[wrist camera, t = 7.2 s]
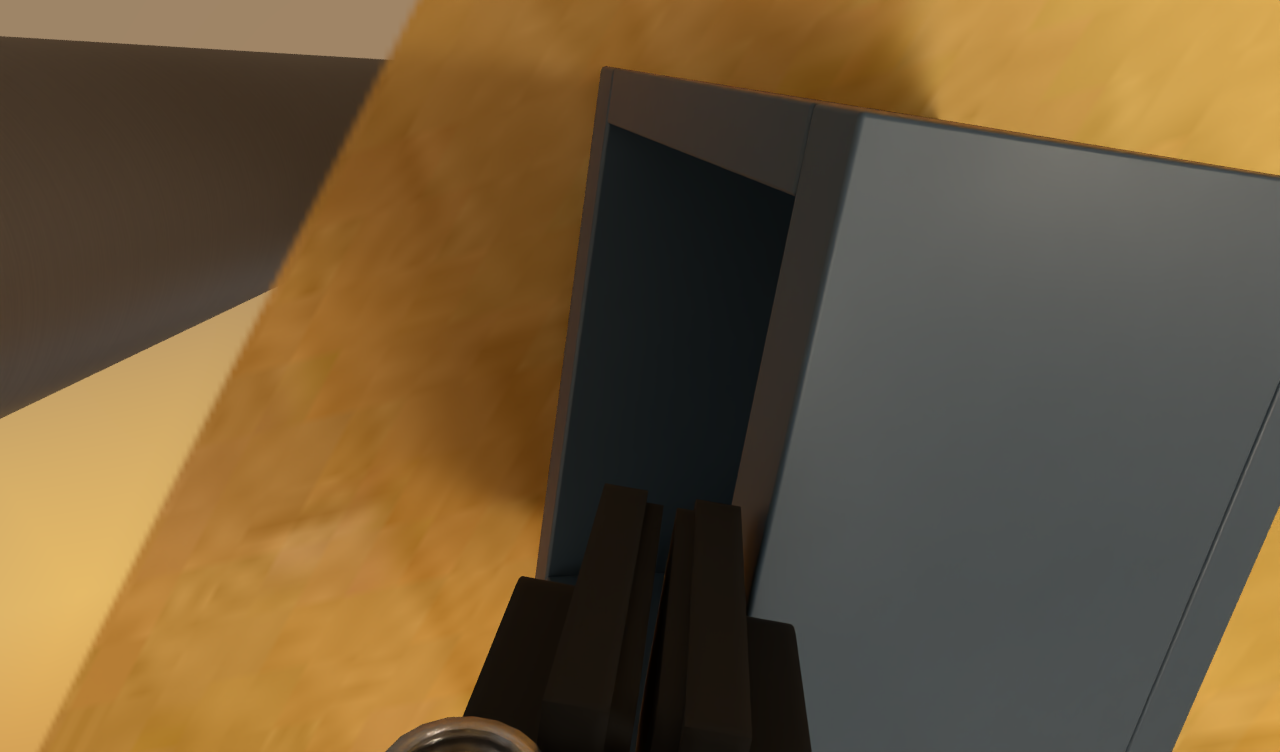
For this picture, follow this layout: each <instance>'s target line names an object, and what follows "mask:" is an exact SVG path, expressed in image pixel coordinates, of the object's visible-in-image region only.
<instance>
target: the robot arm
mask: <svg viewBox="0 0 1280 752" xmlns="http://www.w3.org/2000/svg"><path fill="white" fill-rule="evenodd" d="M647 496H648V490H642V489H636V488H630V487H624V486H619V485H613V484H607V483H605V485H604V488H603V491H602V495H601V498H600V502H599V505H598V509H597V512H596V516H595V519H594V523H593V526H592V530H591V533H590V537H589V540H588V544H587V547H586V551H585V554H584V558H583V561H582V564H581V568H580V571H579V575H578V578H577V582H576V585H569V584H564V583H558V582H552V581H547V580H541V579H535V578H530V577H524V576H522V577H520V578H519V580H518V582H517V584H516V586H515V589H514V591H513V594H512V596H511V599H510V601H509V604H508V606H507V609H506V611H505V613H504V616H503V618H502V621H501V623H500V626H499V628H498V631H497V633H496V636H495V638H494V641H493V643H492V646H491V648H490V651H489V653H488V656H487V658H486V660H485V663H484V665H483V668H482V670H481V673H480V675H479V678H478V680H477V683H476V685H475V688H474V690H473V693H472V695H471V698H470V700H469V702H468V705H467V707H466V710H465V712H464V715H463V717H447V718H444V719H440V720H436V721H433V722H429V723H425V724H422V725H420V726H419V727H417V728H415V729H413V730H411V731H410V732H408V733H406V734H404V735H402V736H401V737H400V738H399V739H398V740H397V741H396V742H395V743H394V744H393V745H392V746H391V747H390V748H389V749H388V750H387V751H386V752H630V746H631V740H632V734H633V728H634V722H635V716H636V709H637V703H638V695H639V688H640V681H641V673H642V666H643V658H644V651H645V643H646V636H647V628H648V621H649V613H650V605H651V598H652V590H653V583H654V575H655V568H656V560H657V553H658V545H659V538H660V530H661V523H662V515H663V508H664V505H660V504H654V503H648V502H647ZM635 752H812V749H811V742H810V734H809V727H808V720H807V712H806V705H805V698H804V690H803V683H802V676H801V668H800V661H799V654H798V646H797V639H796V633H795V629H794V626H793V625H792V624H789V623H783V622H777V621H772V620H766V619H760V618H755V617H749V616H746V600H745V579H744V559H743V538H742V518H741V507H740V506H734V505H728V504H722V503H717V502H711V501H705V500H699V499H696V502H695V506H694V510H688V509H682V508H677V511H676V516H675V521H674V527H673V532H672V538H671V543H670V549H669V554H668V560H667V565H666V571H665V576H664V582H663V587H662V593H661V598H660V604H659V609H658V615H657V620H656V626H655V632H654V637H653V643H652V648H651V654H650V659H649V665H648V670H647V676H646V681H645V687H644V693H643V699H642V705H641V712H640V719H639V726H638V734H637V742H636V750H635Z"/></svg>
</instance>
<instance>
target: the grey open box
mask: <svg viewBox="0 0 1280 752" xmlns="http://www.w3.org/2000/svg"><path fill="white" fill-rule="evenodd" d="M605 483H607V484H613V485H619V486H624V487H630V488H636V489H642V490H648V496H647V502H648V503H654V504H660V505H664V508H663V515H662V523H661V530H660V538H659V545H658V553H657V560H656V568H655V575H654V583H653V590H652V598H651V605H650V613H649V621H648V628H647V636H646V643H645V651H644V658H643V666H642V673H641V681H640V688H639V695H638V703H637V709H636V716H635V722H634V728H633V734H632V740H631V746H630V752H635V750H636V742H637V734H638V726H639V719H640V712H641V705H642V699H643V693H644V687H645V681H646V676H647V670H648V665H649V659H650V654H651V648H652V643H653V637H654V632H655V626H656V620H657V615H658V609H659V604H660V598H661V593H662V587H663V582H664V576H665V571H666V565H667V560H668V554H669V549H670V543H671V538H672V532H673V527H674V521H675V516H676V511H677V508H682V509H688V510H694V506H695V502H696V499H699V500H705V501H711V502H717V503H722V504H728V505H734V506H740V507H741V518H742V538H743V559H744V579H745V600H746V616H749V617H755V618H760V619H766V620H772V621H777V622H783V623H789V624H792V625H793V626H794V629H795V633H796V639H797V646H798V654H799V661H800V668H801V676H802V683H803V690H804V698H805V705H806V712H807V720H808V727H809V734H810V742H811V749H812V752H1172V750H1173V748H1174V746H1175V743H1176V741H1177V739H1178V737H1179V734H1180V732H1181V730H1182V727H1183V725H1184V723H1185V721H1186V718H1187V716H1188V714H1189V711H1190V709H1191V707H1192V705H1193V702H1194V700H1195V698H1196V696H1197V693H1198V691H1199V689H1200V686H1201V684H1202V682H1203V680H1204V677H1205V675H1206V673H1207V670H1208V668H1209V666H1210V664H1211V661H1212V659H1213V657H1214V654H1215V652H1216V650H1217V648H1218V645H1219V643H1220V641H1221V638H1222V636H1223V634H1224V632H1225V629H1226V627H1227V625H1228V622H1229V620H1230V618H1231V616H1232V613H1233V611H1234V609H1235V606H1236V604H1237V602H1238V600H1239V597H1240V595H1241V593H1242V591H1243V588H1244V586H1245V584H1246V581H1247V579H1248V577H1249V575H1250V572H1251V570H1252V568H1253V565H1254V563H1255V561H1256V559H1257V556H1258V554H1259V552H1260V549H1261V547H1262V545H1263V543H1264V540H1265V538H1266V536H1267V533H1268V531H1269V529H1270V527H1271V524H1272V522H1273V520H1274V517H1275V515H1276V513H1277V511H1278V508H1279V506H1280V176H1279V175H1273V174H1267V173H1261V172H1255V171H1249V170H1243V169H1237V168H1231V167H1224V166H1218V165H1212V164H1206V163H1200V162H1194V161H1188V160H1182V159H1176V158H1170V157H1164V156H1158V155H1152V154H1146V153H1140V152H1134V151H1127V150H1121V149H1115V148H1109V147H1103V146H1097V145H1091V144H1085V143H1079V142H1073V141H1067V140H1061V139H1055V138H1049V137H1043V136H1036V135H1030V134H1024V133H1018V132H1012V131H1006V130H1000V129H994V128H988V127H982V126H976V125H970V124H964V123H958V122H952V121H946V120H939V119H933V118H927V117H921V116H914V115H908V114H902V113H896V112H889V111H883V110H877V109H871V108H864V107H858V106H852V105H846V104H839V103H833V102H827V101H821V100H814V99H808V98H802V97H795V96H789V95H783V94H777V93H770V92H764V91H758V90H752V89H745V88H739V87H733V86H727V85H720V84H714V83H708V82H702V81H695V80H689V79H683V78H677V77H670V76H664V75H658V74H652V73H645V72H639V71H633V70H626V69H620V68H614V67H608V66H605V67H602V69H601V74H600V82H599V89H598V97H597V105H596V112H595V120H594V128H593V136H592V143H591V151H590V159H589V167H588V174H587V182H586V190H585V197H584V205H583V213H582V221H581V228H580V236H579V244H578V251H577V259H576V267H575V275H574V282H573V290H572V298H571V306H570V313H569V321H568V329H567V336H566V344H565V352H564V360H563V367H562V375H561V383H560V390H559V398H558V406H557V414H556V421H555V429H554V437H553V444H552V452H551V460H550V468H549V475H548V483H547V491H546V499H545V506H544V514H543V522H542V529H541V537H540V545H539V553H538V560H537V568H536V576H535V579H541V580H547V581H552V582H558V583H564V584H569V585H576V582H577V578H578V575H579V571H580V568H581V564H582V561H583V558H584V554H585V551H586V547H587V544H588V540H589V537H590V533H591V530H592V526H593V523H594V519H595V516H596V512H597V509H598V505H599V502H600V498H601V495H602V491H603V488H604V485H605Z"/></svg>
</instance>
